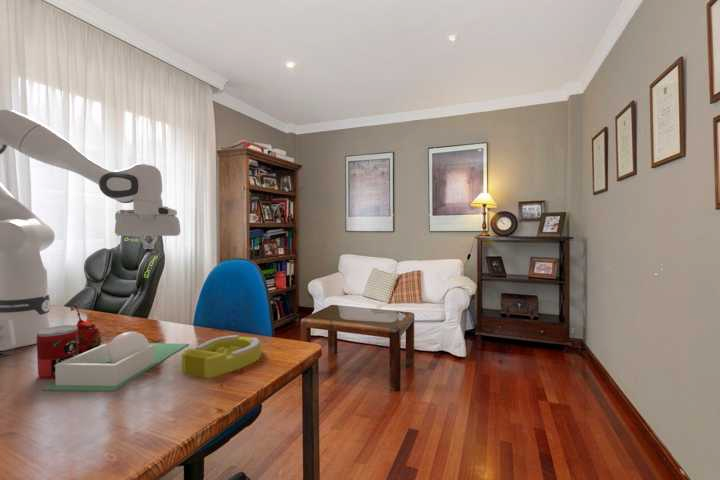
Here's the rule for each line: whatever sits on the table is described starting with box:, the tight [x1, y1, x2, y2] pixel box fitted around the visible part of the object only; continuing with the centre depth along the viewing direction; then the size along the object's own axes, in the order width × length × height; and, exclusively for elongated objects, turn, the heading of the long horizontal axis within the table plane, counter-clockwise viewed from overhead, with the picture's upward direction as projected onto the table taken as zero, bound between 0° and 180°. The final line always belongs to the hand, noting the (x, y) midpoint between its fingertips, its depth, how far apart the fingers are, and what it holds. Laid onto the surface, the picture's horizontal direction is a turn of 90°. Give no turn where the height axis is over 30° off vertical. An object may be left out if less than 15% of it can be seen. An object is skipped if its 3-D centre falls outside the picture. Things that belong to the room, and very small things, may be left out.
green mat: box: [42, 342, 189, 392], centre depth 91 cm, size 31×16×1 cm, turn 178°
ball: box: [107, 331, 149, 364], centre depth 89 cm, size 9×9×9 cm
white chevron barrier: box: [55, 343, 155, 386], centre depth 84 cm, size 14×14×5 cm
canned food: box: [36, 324, 79, 380], centre depth 85 cm, size 8×8×11 cm
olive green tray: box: [181, 334, 262, 379], centre depth 93 cm, size 16×21×5 cm
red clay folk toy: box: [70, 301, 102, 354], centre depth 100 cm, size 8×7×15 cm
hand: (148, 248), depth 122 cm, fingers closed
